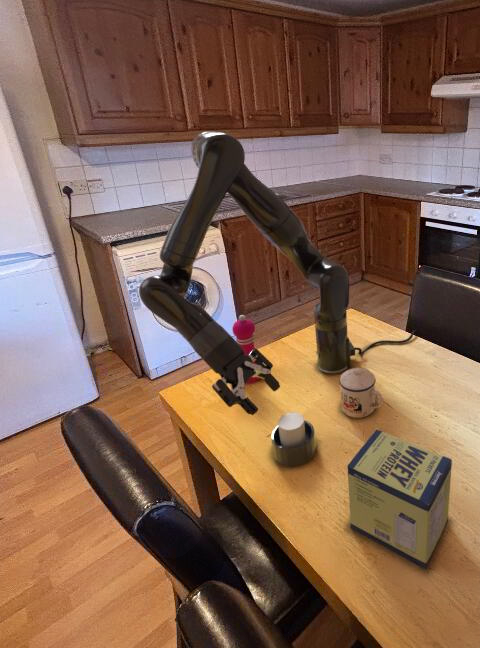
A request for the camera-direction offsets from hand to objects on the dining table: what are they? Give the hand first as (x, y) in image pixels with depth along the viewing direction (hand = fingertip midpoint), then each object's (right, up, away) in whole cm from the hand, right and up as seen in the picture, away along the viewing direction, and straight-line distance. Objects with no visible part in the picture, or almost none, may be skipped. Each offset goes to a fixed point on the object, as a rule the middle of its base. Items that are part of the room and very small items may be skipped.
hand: (267, 400), depth 91 cm
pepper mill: (-12, -1, +30) cm, 32 cm away
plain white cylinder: (+6, -12, +3) cm, 13 cm away
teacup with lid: (+21, -7, +16) cm, 27 cm away
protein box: (+28, -20, -14) cm, 37 cm away
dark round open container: (+6, -12, +3) cm, 14 cm away
